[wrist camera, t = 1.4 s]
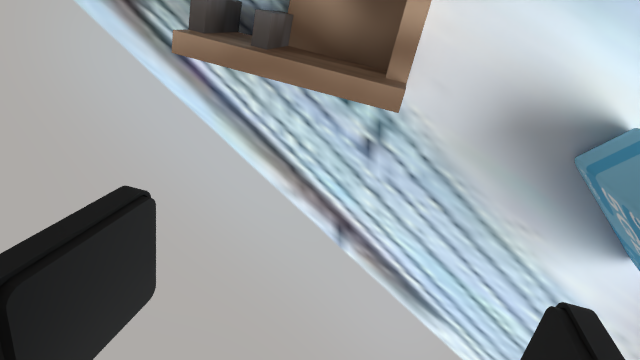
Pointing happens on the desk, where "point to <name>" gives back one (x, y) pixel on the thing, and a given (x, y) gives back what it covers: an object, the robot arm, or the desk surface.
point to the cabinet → (314, 44)
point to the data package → (617, 186)
